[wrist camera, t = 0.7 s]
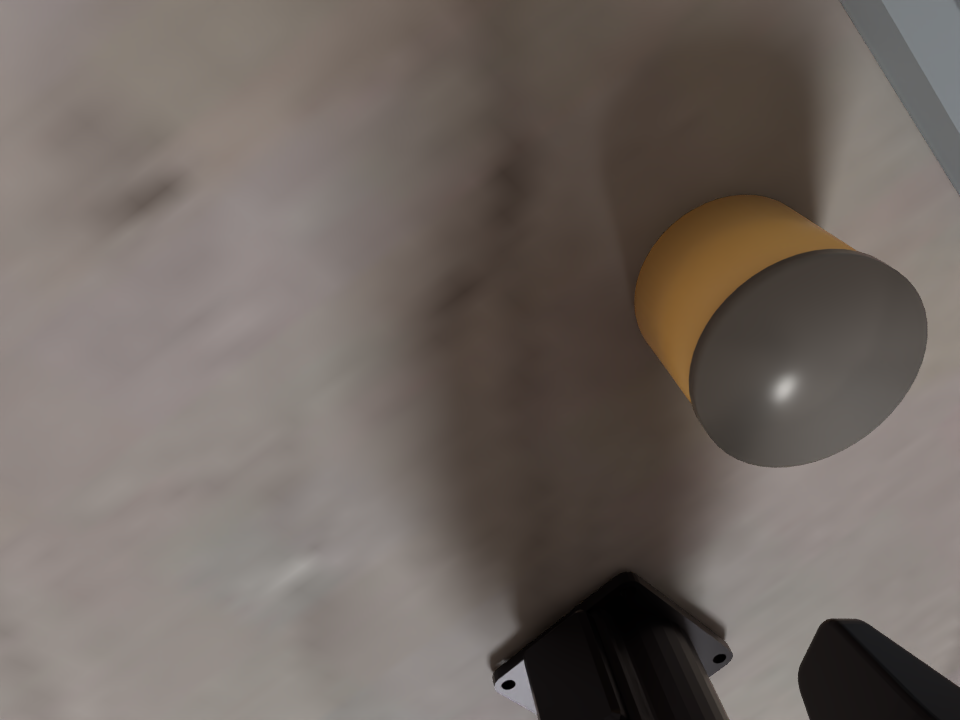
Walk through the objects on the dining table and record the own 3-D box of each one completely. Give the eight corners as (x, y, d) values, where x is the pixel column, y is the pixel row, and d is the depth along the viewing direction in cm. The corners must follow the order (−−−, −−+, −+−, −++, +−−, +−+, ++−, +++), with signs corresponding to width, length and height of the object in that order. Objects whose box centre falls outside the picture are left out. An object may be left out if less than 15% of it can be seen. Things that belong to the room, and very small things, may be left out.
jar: (853, 280, 22) (965, 359, 18) (703, 403, 23) (777, 503, 19) (751, 146, 20) (856, 205, 16) (591, 293, 21) (650, 381, 17)
